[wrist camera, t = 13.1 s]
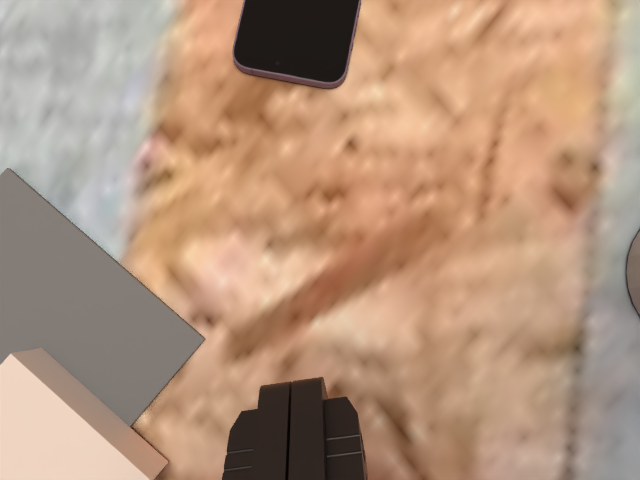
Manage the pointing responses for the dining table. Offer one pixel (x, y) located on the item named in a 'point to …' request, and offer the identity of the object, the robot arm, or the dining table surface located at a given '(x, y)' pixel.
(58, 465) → the block
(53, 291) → the mat
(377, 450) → the dining table surface
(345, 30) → the smartphone
